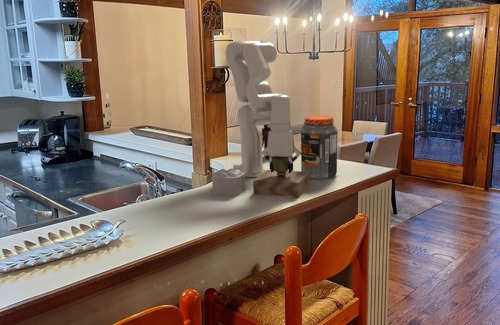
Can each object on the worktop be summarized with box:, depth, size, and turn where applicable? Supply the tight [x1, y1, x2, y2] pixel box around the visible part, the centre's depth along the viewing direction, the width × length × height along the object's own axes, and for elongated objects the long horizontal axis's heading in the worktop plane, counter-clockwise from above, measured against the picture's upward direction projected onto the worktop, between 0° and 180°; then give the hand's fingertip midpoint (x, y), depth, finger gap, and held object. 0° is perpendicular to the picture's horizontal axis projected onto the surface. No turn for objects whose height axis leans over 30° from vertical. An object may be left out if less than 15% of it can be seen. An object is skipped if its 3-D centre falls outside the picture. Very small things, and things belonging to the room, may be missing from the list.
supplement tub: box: [300, 115, 338, 180], centre depth 201 cm, size 16×16×26 cm
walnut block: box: [252, 169, 310, 198], centre depth 183 cm, size 18×18×6 cm
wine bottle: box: [261, 125, 271, 158], centre depth 243 cm, size 8×10×30 cm
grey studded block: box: [211, 167, 247, 197], centre depth 183 cm, size 10×13×9 cm
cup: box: [271, 157, 289, 177], centre depth 182 cm, size 8×7×8 cm
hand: (281, 171), depth 182 cm, fingers closed on cup, 6 cm apart
